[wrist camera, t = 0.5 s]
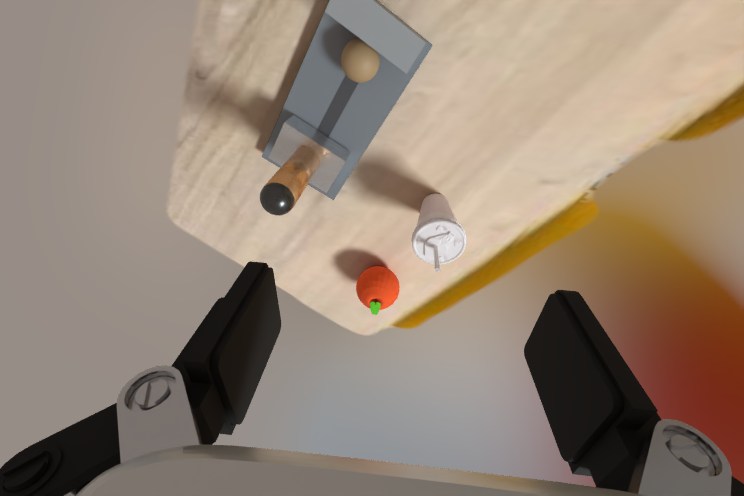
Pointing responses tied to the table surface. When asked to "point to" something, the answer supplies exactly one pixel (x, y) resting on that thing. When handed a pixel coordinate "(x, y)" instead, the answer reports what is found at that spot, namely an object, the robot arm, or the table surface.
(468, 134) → the table surface
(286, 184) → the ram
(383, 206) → the table surface
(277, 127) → the frame
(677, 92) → the table surface
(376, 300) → the clementine
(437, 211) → the smoothie
